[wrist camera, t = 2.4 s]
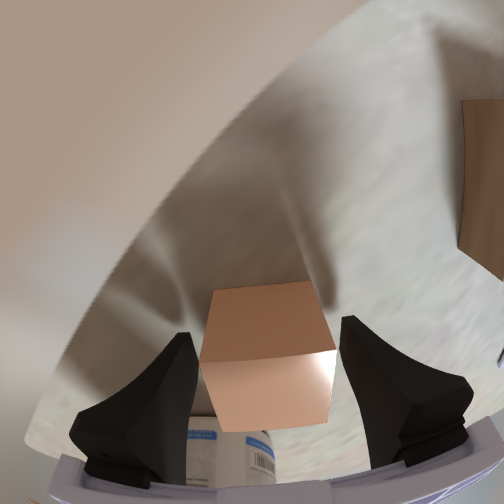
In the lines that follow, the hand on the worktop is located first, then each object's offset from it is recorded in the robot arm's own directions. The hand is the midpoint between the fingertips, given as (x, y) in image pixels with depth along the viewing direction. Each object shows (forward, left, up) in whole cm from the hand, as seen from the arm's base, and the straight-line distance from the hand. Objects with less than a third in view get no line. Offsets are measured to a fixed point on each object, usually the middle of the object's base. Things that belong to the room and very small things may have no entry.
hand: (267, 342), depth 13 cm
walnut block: (-15, -7, -1) cm, 17 cm away
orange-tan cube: (0, 0, -2) cm, 2 cm away
